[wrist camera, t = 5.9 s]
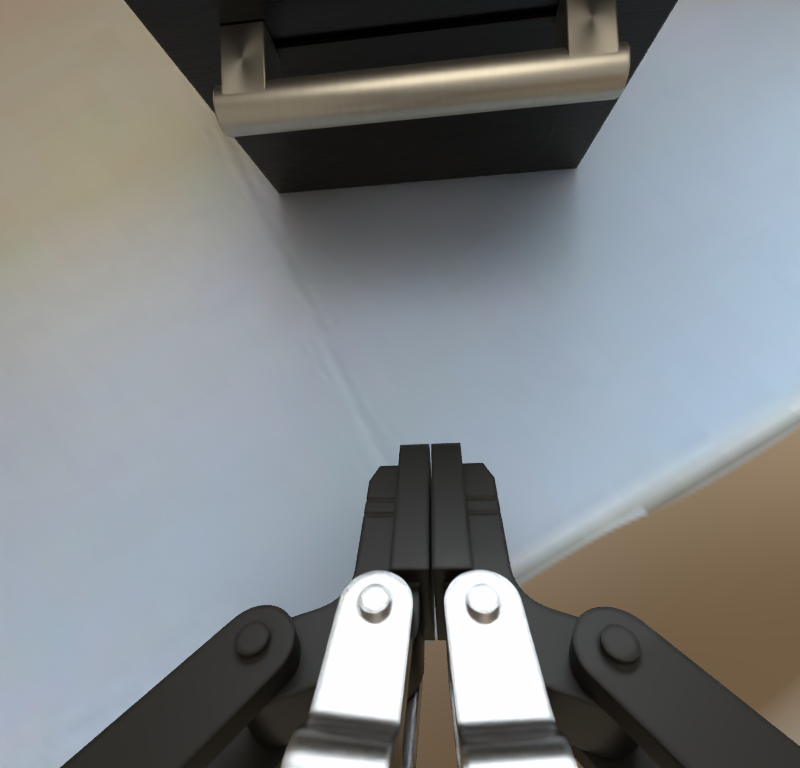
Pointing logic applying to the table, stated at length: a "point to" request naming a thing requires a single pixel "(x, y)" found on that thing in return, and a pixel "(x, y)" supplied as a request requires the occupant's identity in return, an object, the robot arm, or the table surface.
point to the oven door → (406, 81)
